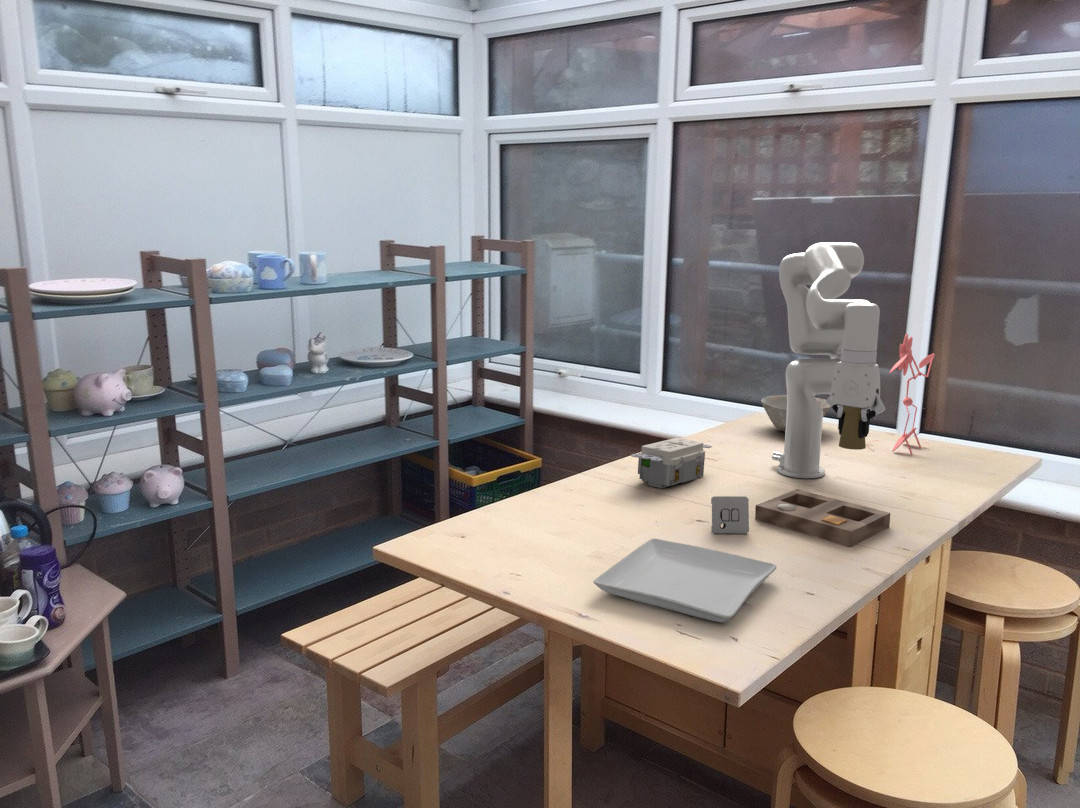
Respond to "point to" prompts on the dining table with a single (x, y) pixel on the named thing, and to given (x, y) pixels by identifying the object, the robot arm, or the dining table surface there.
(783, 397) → the ceramic bowl
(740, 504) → the electrical switch
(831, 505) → the socket board
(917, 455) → the dining table surface
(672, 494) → the dining table surface
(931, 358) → the figurine
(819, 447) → the robot arm
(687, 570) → the square plate
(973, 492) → the dining table surface
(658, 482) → the electrical outlet
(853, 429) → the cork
